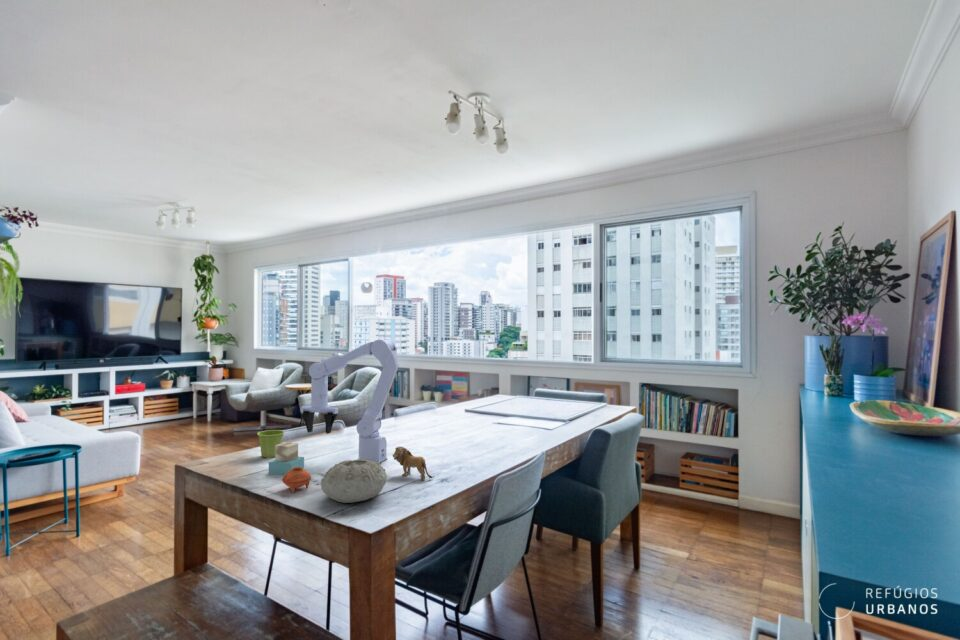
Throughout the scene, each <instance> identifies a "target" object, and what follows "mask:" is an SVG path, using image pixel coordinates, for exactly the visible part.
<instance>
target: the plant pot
mask: <svg viewBox="0 0 960 640" xmlns="http://www.w3.org/2000/svg"><path fill="white" fill-rule="evenodd" d="M285 433H286V432H285V431H284V430H280V429H269V430H263V431H258V432H257V436H258V439H259V446H260V455H261V457H262V458H264V459H265V458H266V459H268V458H269V459H271V458H274V457H275V445H278V444H281V443H283V442H282V441H283V437H284V434H285Z"/></svg>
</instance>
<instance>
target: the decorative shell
mask: <svg viewBox="0 0 960 640" xmlns="http://www.w3.org/2000/svg"><path fill="white" fill-rule="evenodd" d="M387 480H388V476H387V472H386V468H384V467H383V466H382V465H381V464H380V463H376V462H374V461H371V460H367V459H359V460H356V459H354V460H351V459H350V460H343V461H340V462H338V463H336V464H334V465H333V466H331V468H329V469H328V470H327V471H326V472H325V474H324V475H323V477H322V479H321V481H320V482H321V483H320V485H321V486H320V487H321V491H322V492H323V493H324V494H325V495H326V496H327V497H328V498H330V499H332V500H334V501H335V502H338V503H343V504H349V503H350V504H351V503H357V502H364V501H368V500H370V499H372V498H374V497H376V496H378V495H379V494H380V493H381V492H382V490H383V488H384V486H385V485H386V483H387Z"/></svg>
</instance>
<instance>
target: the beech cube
mask: <svg viewBox="0 0 960 640" xmlns="http://www.w3.org/2000/svg"><path fill="white" fill-rule="evenodd" d="M298 457H299V443H298V442H291V441H290V442H289V441H284V442H281V444H278V445H275V459H274V460H276V461H284V462H289V461H291V460H294V459H297V458H298Z"/></svg>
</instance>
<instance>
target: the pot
mask: <svg viewBox="0 0 960 640" xmlns="http://www.w3.org/2000/svg"><path fill="white" fill-rule="evenodd" d="M311 478H312V476H311V473H309V472H308V471H307V470H306V469H304V468H302V467H294V468H292V469H290V471H288V472H287V473H286V474H283V476H282V478H281V482H282V483H283V484H284V485H285V486H287V487H289V489H290V491H291V493H294V492H295V489H298V488H302V487H303V486H305V489H308V488H309V485H310V480H311Z"/></svg>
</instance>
